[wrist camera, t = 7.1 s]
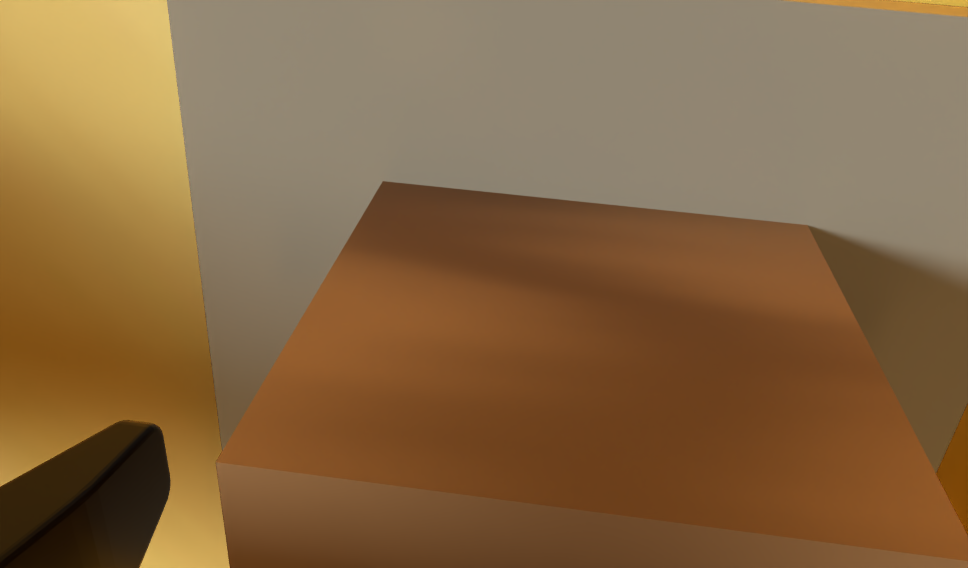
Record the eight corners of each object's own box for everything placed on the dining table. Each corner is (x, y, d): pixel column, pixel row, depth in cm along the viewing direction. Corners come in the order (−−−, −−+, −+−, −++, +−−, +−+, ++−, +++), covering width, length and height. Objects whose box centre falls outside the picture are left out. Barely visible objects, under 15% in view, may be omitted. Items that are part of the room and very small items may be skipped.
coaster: (251, 554, 14) (238, 581, 14) (184, -63, 9) (161, -56, 9) (837, 638, 14) (846, 671, 13) (1102, 19, 9) (1135, 31, 8)
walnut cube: (383, 490, 12) (268, 848, 8) (382, 180, 10) (214, 463, 6) (719, 533, 12) (788, 936, 8) (807, 225, 10) (981, 562, 5)
